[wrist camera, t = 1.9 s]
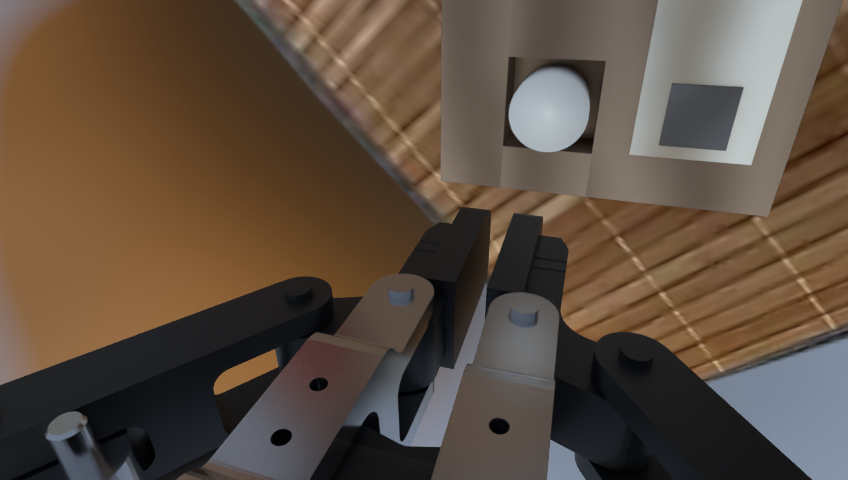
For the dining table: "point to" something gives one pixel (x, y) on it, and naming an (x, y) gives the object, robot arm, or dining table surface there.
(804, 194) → the dining table surface
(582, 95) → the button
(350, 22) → the dining table surface
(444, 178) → the button board
